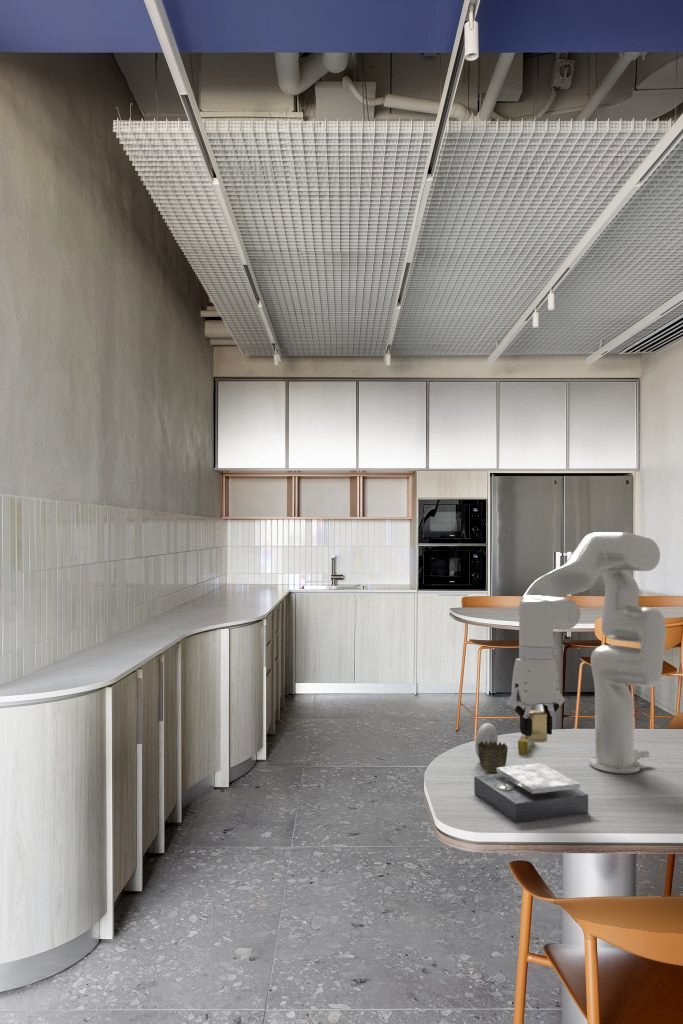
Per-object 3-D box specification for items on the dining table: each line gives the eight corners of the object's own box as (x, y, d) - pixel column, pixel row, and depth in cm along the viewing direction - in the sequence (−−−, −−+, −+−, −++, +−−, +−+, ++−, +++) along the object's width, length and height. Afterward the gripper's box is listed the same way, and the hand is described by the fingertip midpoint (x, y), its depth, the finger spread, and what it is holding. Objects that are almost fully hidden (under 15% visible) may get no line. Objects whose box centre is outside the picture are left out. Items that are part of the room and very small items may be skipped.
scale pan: (540, 767, 169) (540, 762, 169) (579, 788, 155) (579, 783, 155) (496, 771, 166) (496, 767, 166) (532, 793, 151) (532, 789, 151)
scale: (540, 785, 171) (540, 766, 171) (588, 813, 154) (588, 792, 154) (474, 793, 165) (474, 774, 166) (515, 823, 148) (515, 801, 148)
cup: (508, 783, 173) (508, 750, 173) (477, 780, 174) (477, 748, 174) (507, 773, 180) (507, 741, 180) (477, 771, 181) (477, 739, 182)
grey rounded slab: (485, 766, 185) (485, 728, 185) (473, 764, 187) (472, 726, 187) (499, 757, 193) (499, 720, 193) (487, 755, 195) (487, 718, 195)
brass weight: (539, 735, 164) (539, 709, 164) (551, 741, 159) (551, 714, 159) (521, 737, 162) (521, 710, 162) (533, 743, 157) (533, 715, 158)
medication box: (525, 743, 207) (525, 729, 207) (535, 744, 206) (534, 730, 206) (518, 754, 196) (517, 740, 196) (528, 755, 195) (527, 741, 195)
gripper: (558, 649, 168) (558, 727, 167) (494, 652, 162) (494, 732, 162) (577, 654, 160) (578, 735, 160) (512, 657, 155) (512, 741, 154)
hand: (536, 733), depth 161 cm, fingers closed on brass weight, 4 cm apart
